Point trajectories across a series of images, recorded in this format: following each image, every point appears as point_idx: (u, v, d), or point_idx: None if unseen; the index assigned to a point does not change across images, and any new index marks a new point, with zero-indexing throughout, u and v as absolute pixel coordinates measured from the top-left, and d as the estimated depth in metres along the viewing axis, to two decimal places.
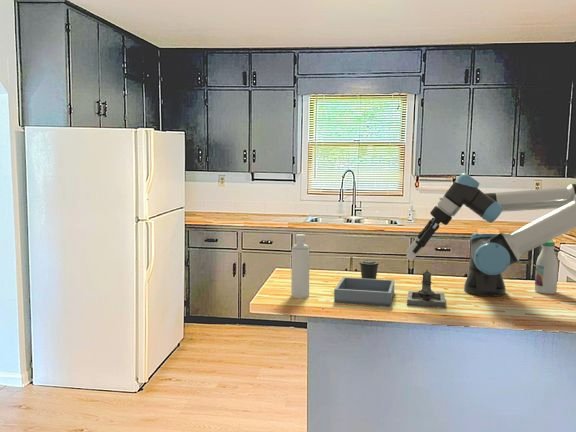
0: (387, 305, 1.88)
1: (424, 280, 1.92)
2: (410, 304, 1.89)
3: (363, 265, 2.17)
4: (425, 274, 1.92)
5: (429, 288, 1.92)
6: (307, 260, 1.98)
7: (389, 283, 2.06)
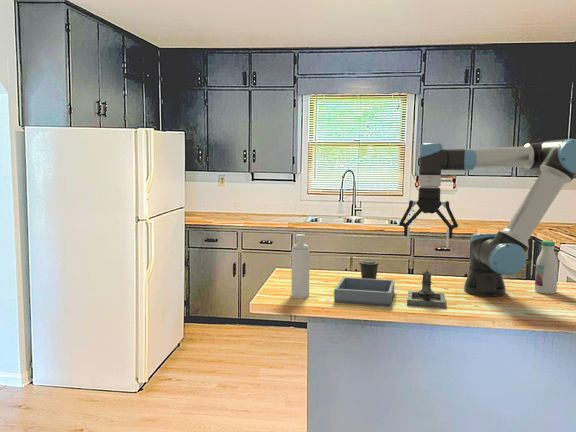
0: (387, 305, 1.88)
1: (424, 280, 1.92)
2: (410, 304, 1.89)
3: (363, 265, 2.17)
4: (425, 274, 1.92)
5: (429, 288, 1.92)
6: (307, 260, 1.98)
7: (389, 283, 2.06)
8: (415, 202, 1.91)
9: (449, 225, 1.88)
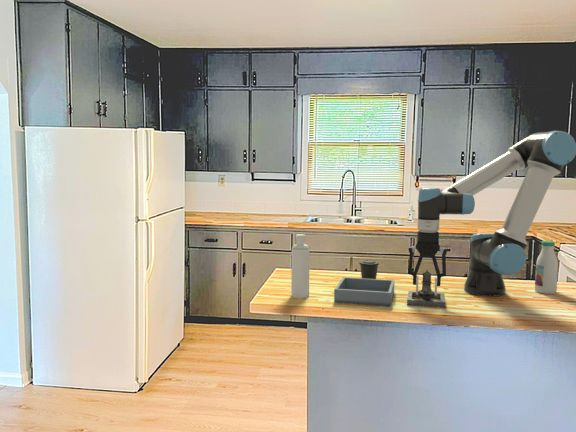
0: (387, 305, 1.88)
1: (424, 280, 1.92)
2: (410, 304, 1.89)
3: (363, 265, 2.17)
4: (425, 274, 1.92)
5: (429, 288, 1.92)
6: (307, 260, 1.98)
7: (389, 283, 2.06)
8: (414, 247, 1.93)
9: (438, 273, 1.91)
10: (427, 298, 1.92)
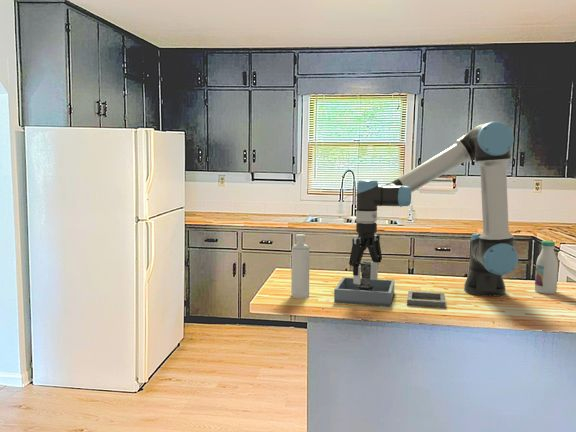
0: (387, 305, 1.88)
1: (367, 274, 1.97)
2: (410, 304, 1.89)
3: (363, 265, 2.17)
4: (367, 268, 1.97)
5: (369, 281, 1.99)
6: (307, 260, 1.98)
7: (389, 283, 2.06)
8: None
9: (377, 258, 2.01)
10: (371, 290, 1.98)
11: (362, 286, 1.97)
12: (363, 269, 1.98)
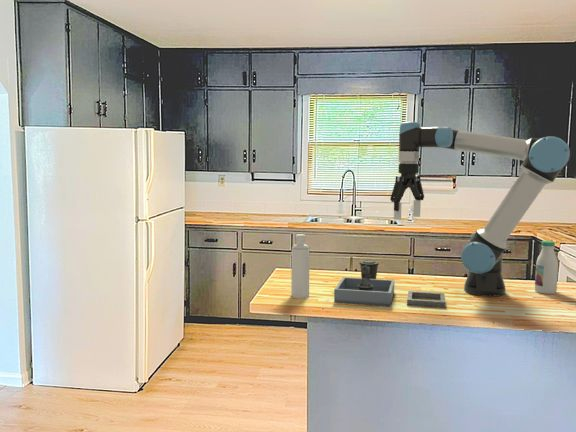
0: (387, 305, 1.88)
1: (367, 274, 1.97)
2: (410, 304, 1.89)
3: (363, 265, 2.17)
4: (367, 268, 1.97)
5: (369, 281, 1.99)
6: (307, 260, 1.98)
7: (389, 283, 2.06)
8: (402, 177, 2.02)
9: (420, 196, 2.11)
10: None
11: (362, 286, 1.97)
12: (363, 269, 1.97)
